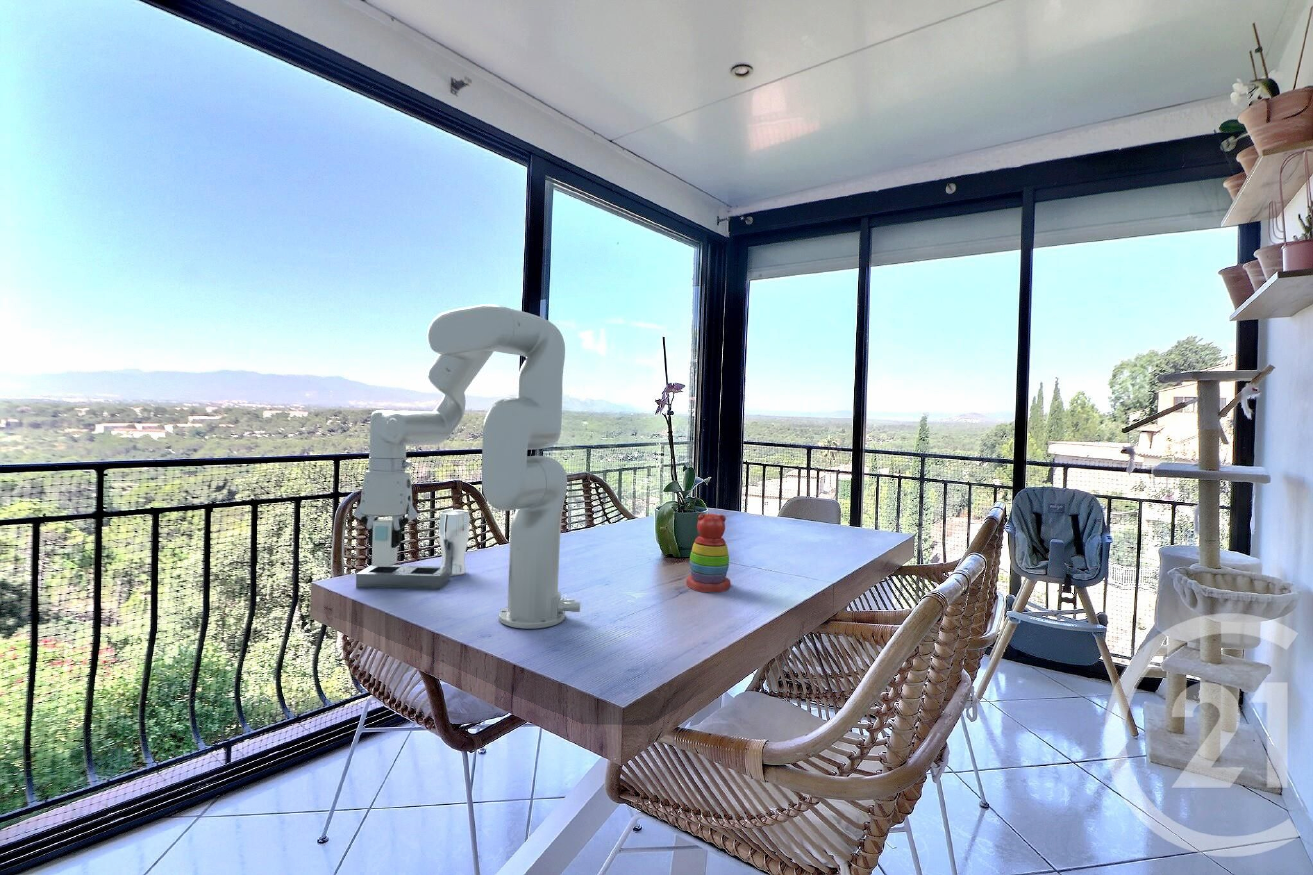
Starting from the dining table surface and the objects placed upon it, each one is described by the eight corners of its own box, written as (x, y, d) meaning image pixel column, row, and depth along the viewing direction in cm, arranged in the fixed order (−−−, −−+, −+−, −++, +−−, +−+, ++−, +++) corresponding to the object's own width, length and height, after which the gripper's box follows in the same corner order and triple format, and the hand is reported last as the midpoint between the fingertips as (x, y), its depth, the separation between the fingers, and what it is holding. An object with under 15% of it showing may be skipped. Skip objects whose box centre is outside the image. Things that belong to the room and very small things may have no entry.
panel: (449, 579, 140) (450, 566, 140) (439, 589, 132) (439, 576, 132) (371, 577, 139) (371, 564, 139) (355, 587, 131) (356, 573, 131)
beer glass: (462, 577, 142) (464, 514, 142) (433, 575, 142) (435, 513, 142) (471, 569, 149) (473, 510, 149) (444, 568, 149) (446, 509, 149)
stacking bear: (730, 583, 148) (733, 511, 147) (731, 595, 138) (735, 518, 137) (686, 580, 149) (690, 509, 148) (684, 591, 139) (688, 515, 138)
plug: (396, 562, 137) (398, 519, 137) (388, 567, 133) (390, 522, 132) (379, 561, 137) (380, 518, 137) (370, 566, 132) (371, 522, 132)
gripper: (430, 465, 138) (427, 543, 139) (356, 462, 138) (354, 541, 138) (419, 468, 131) (416, 551, 132) (341, 465, 130) (338, 548, 131)
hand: (384, 545), depth 135 cm, fingers closed on plug, 4 cm apart
